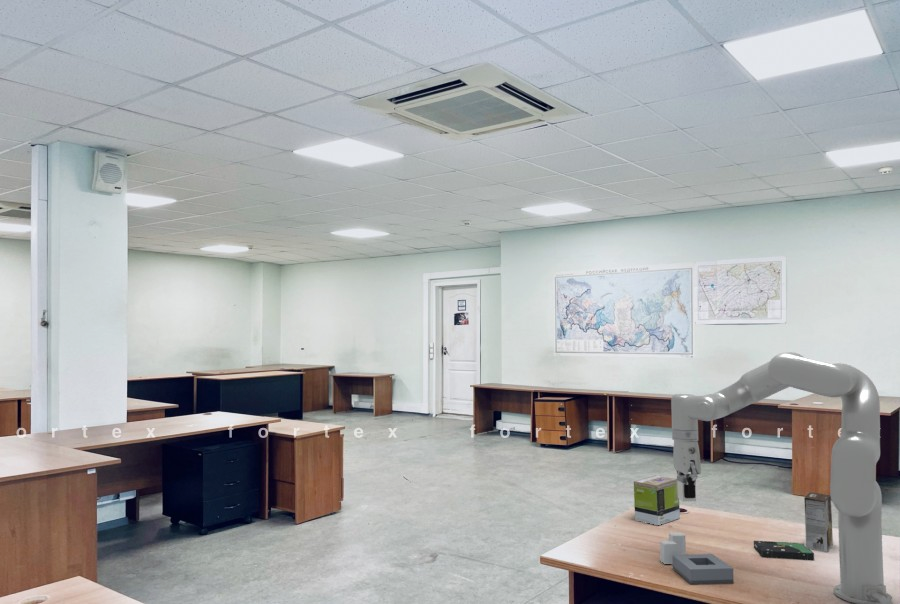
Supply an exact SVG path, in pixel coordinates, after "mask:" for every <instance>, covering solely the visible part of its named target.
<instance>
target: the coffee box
mask: <svg viewBox="0 0 900 604" xmlns="http://www.w3.org/2000/svg"><path fill="white" fill-rule="evenodd" d="M804 523H805V524H804V526H805V527H804V528H805V546H806V547H807V548H809V549H810V550H811V551H812V550H813V551H817V550H818V552H823V553H829V552H830V550H831V549H832V547H833V545H834V539H833V516H832V500H831V496H830V494H823V493H820V492H811V491H810V492H808V493H807V494H806V496H805V497H804Z"/></svg>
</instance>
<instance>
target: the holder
mask: <svg viewBox="0 0 900 604" xmlns="http://www.w3.org/2000/svg"><path fill="white" fill-rule="evenodd" d="M672 560H673V565H672V570H673V569H674V570H675V571H674V570H673V571H674V572H676V574H678V573H679V574H680V575H681V576H682V577H681V576H680V575H679V574H678V575H679V576H680V577H681V578H683V579H684V580H685V581H686V582H687V583H688V584H690V585H713V584H714V585H719V584H720V585H722V584H723V585H724V584H734V567H732V566H730V565H729V564H728V563H727V562H724V561H723V560H722V559H720V558H719V557H718V556H716V555H715V554H713V553H700V554H699V553H698V554H697V553H696V554H686V555H672Z"/></svg>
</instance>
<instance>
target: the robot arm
mask: <svg viewBox="0 0 900 604" xmlns="http://www.w3.org/2000/svg"><path fill="white" fill-rule="evenodd" d="M788 388H793V389H796V390H800V391H805V392H808V393H812V394H815V395H818V396H824V397H827V398H828V397H829V398H841V402H842V404H841V405H842V408H841V417H840V418H841V425H840V427H841V429H840V435H839V436H840V437H839V438H837V440H836V441H835V442H834V443H833V446H832V449H831V455H830V456H831V459H830V483H829V484H830V487H829V491H830V492H829V493H830V494H829V495H830V496H831V503H832V504H833V506H834V507H835V508H836V510H837V511H838V512H837V514H838V517H837V518H838V522H837V523H838V524H837V525H838V553H839V579H840V580H839V581H840V583H839V584H837V585H835V586H834V587H833V593H834V594H835V596H837V597H838V598H839V599H842V600H844V601H846V602H849V603H853V604H892V603H893V596H892V595H890V594H889V593H888V592H887V585H885V582H884V560H883V555H884V554H883V528H882V515H883V514H882V510H883V505H882V504H883V496H882V490H881V487H880V485H879V483H878V482H877V481H876V472H877V471H876V467H877V466H876V465H877V463H878V461H879V460H880V457H881V417H880V416H881V414H880V413H881V404H880V397H879V392H878V390H877V388H876V386H875V383H874V382H873V381H872V379H871V378H870V377H869V376H868V375H867V374H866V373H864V372H863V371H862V370H860V369H858V368H856V367H854V366H853V365H850V364H846V363H841V362H839V363H827V362H823V361H819V360H815V359H810V358H806V357H804V356H803V355H801V354H799V353H797V352H794V351H793V352H781V353H778V354H776V355H775V356H773V357H772V358H771V359H770V360H769V361H767V362H766V363H764V364H761V365H759V366H757V367H755V368H752V369H751V370H749V371H747V372H745V373H743V375H741V377H740V378H739V379H738V380H737V381H736V382H734V383H732V384H730V385H729V386H726V387H724V388H723V389H721V390H719V391H716V392H714V393H709V394H705V395H697V396H696V395H694V394H689V393H676V394H673V395H672V397H671V398H670V399H671V400H670V405H671V409H670V410H671V440H673V452H672V453H673V456H672V457H673V467H674V469H675V471H676V474H677V475H684V476H685V484H684V497H685V498H695V484H696V483H697V481H696V480H697V479H698V478H699V477H698V475H700V474H701V473H702V468H701V466H702V465H701V464H702V463H701V453H700V446H699V442H698V441H699V423H698V422H699V421H705V422H710V421H711V422H712V421H714V420H718V419H721V418H724V417H726V416H729V415H731V414H732V413H736V412H737V411H739V410H742V409H744V408H746V407H748V406H749V405H752V404H756V403H758V402H760V401H763V400H764V399H767V398H768V397H770V396H772V395H775V394H777V393H779V392H781V391H784V390H786V389H788ZM677 475H676V476H677ZM688 476H691V477H689V478H688ZM695 481H696V482H695Z"/></svg>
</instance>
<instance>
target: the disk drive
mask: <svg viewBox="0 0 900 604" xmlns="http://www.w3.org/2000/svg"><path fill="white" fill-rule="evenodd" d="M753 548H754V549H755V551H756V552H757V553H758V554H759V556H760V557H761V558H762V559H764V558H765V559H782V560H784V559H785V560H800V561H815V553H814V552H813V551H812V549H809V548H807V547H806V544H805V543H799V542H787V541H785V542H784V541H768V540H753Z"/></svg>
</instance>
